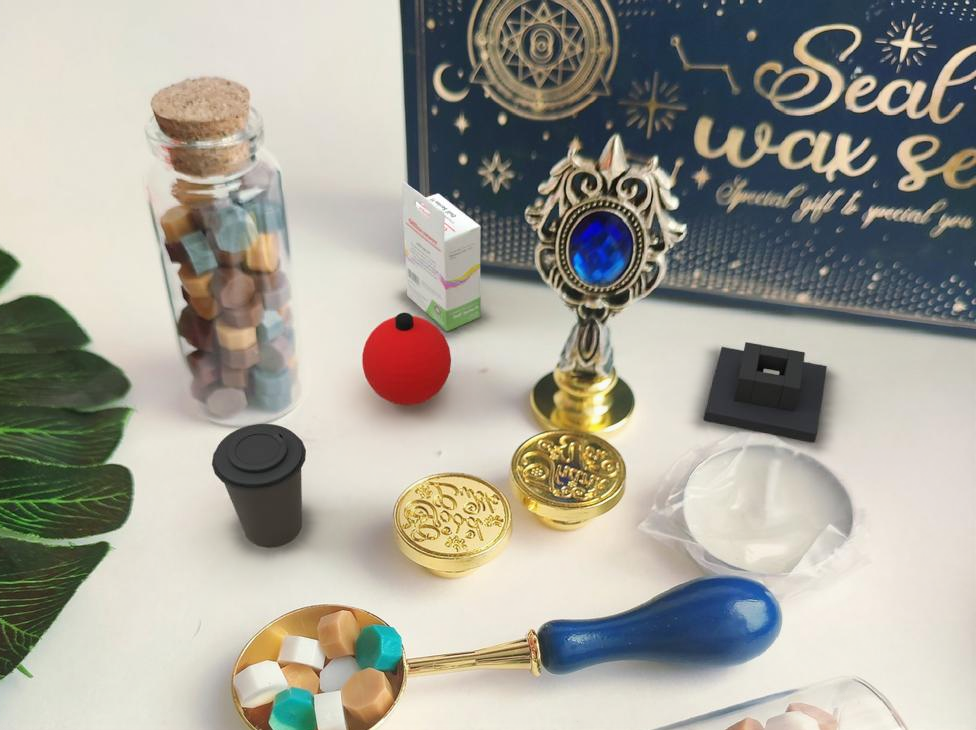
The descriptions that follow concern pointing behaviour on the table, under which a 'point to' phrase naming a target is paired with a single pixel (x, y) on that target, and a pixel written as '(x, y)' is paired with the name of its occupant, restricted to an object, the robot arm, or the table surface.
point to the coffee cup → (263, 481)
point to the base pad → (762, 417)
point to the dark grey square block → (769, 376)
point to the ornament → (406, 360)
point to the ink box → (441, 258)
